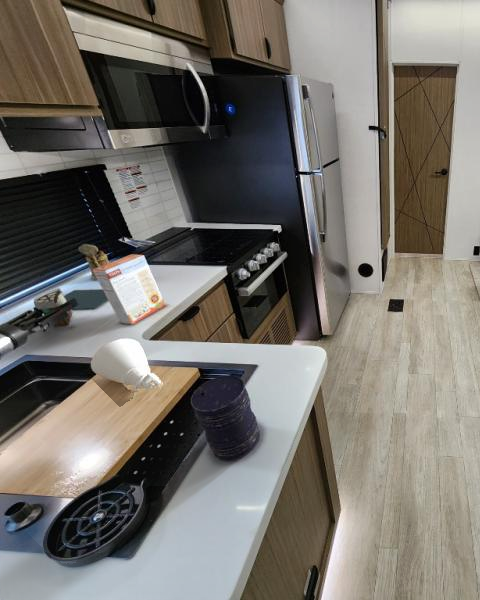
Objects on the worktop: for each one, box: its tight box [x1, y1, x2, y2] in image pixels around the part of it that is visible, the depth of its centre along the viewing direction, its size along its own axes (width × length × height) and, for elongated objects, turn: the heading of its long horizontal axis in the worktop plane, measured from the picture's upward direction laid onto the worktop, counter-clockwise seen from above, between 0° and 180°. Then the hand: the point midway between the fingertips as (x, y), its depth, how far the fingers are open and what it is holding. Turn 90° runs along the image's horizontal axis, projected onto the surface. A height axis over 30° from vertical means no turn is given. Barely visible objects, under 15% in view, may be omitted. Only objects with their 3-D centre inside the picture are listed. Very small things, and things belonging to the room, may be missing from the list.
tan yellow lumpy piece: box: [77, 243, 111, 281], centre depth 145 cm, size 9×14×18 cm, turn 33°
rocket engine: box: [90, 338, 164, 393], centre depth 87 cm, size 12×12×18 cm
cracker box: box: [93, 253, 166, 325], centre depth 116 cm, size 14×6×21 cm, turn 165°
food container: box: [33, 287, 74, 328], centre depth 112 cm, size 12×6×10 cm, turn 35°
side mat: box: [64, 288, 109, 311], centre depth 131 cm, size 20×16×1 cm
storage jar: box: [190, 375, 261, 462], centre depth 69 cm, size 10×10×15 cm
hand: (67, 301), depth 115 cm, fingers closed on food container, 5 cm apart
